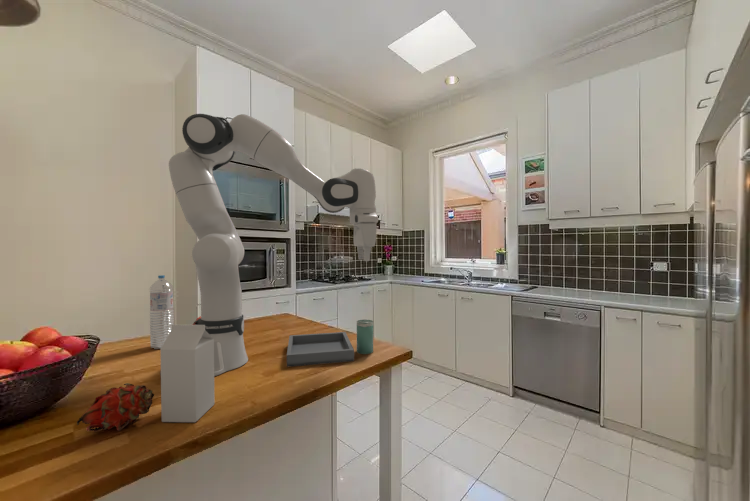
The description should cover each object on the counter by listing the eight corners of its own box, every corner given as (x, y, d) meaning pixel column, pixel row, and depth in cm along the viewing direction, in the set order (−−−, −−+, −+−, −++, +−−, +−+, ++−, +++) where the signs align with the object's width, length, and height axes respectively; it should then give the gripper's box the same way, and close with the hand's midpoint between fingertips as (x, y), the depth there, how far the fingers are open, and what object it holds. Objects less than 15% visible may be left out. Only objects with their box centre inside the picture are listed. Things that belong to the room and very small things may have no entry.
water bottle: (157, 343, 112) (156, 274, 111) (177, 342, 113) (176, 274, 112) (146, 350, 105) (144, 276, 105) (167, 349, 106) (166, 276, 105)
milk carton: (195, 423, 62) (194, 329, 62) (161, 422, 63) (159, 329, 62) (214, 404, 70) (213, 320, 69) (183, 404, 70) (182, 320, 69)
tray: (286, 367, 91) (286, 355, 91) (289, 345, 110) (289, 335, 110) (354, 361, 95) (354, 349, 95) (345, 341, 115) (345, 331, 115)
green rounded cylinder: (358, 354, 101) (358, 324, 101) (355, 349, 106) (355, 320, 106) (374, 353, 102) (374, 323, 102) (371, 347, 108) (371, 319, 107)
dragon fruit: (160, 420, 66) (84, 457, 57) (148, 388, 70) (75, 418, 61) (161, 399, 62) (79, 435, 53) (147, 366, 66) (69, 394, 57)
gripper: (349, 221, 113) (349, 259, 113) (359, 216, 93) (360, 262, 93) (366, 221, 114) (366, 258, 114) (379, 216, 94) (380, 261, 94)
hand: (363, 260), depth 103 cm, fingers open, 8 cm apart
